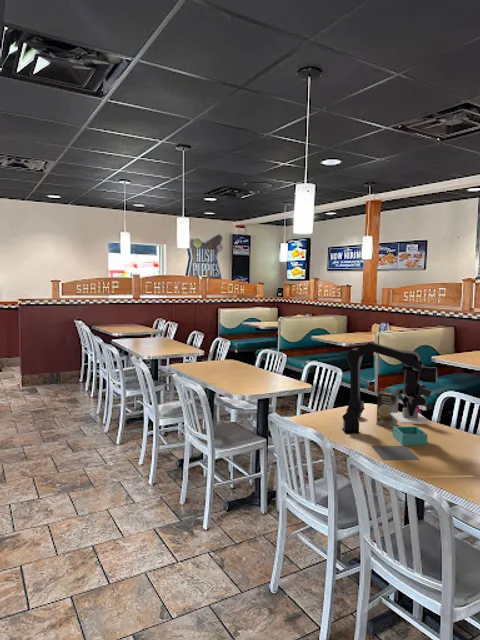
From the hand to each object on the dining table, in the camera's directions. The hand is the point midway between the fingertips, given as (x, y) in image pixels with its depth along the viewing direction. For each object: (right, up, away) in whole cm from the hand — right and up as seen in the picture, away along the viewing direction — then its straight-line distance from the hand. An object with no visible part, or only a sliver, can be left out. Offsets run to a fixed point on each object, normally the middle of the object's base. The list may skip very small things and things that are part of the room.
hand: (410, 415), depth 200 cm
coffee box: (-2, -10, +25) cm, 27 cm away
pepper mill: (+13, -10, +29) cm, 33 cm away
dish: (0, -12, +2) cm, 12 cm away
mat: (-11, -13, -12) cm, 21 cm away
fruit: (-16, -9, +36) cm, 40 cm away
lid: (0, -2, 0) cm, 2 cm away
